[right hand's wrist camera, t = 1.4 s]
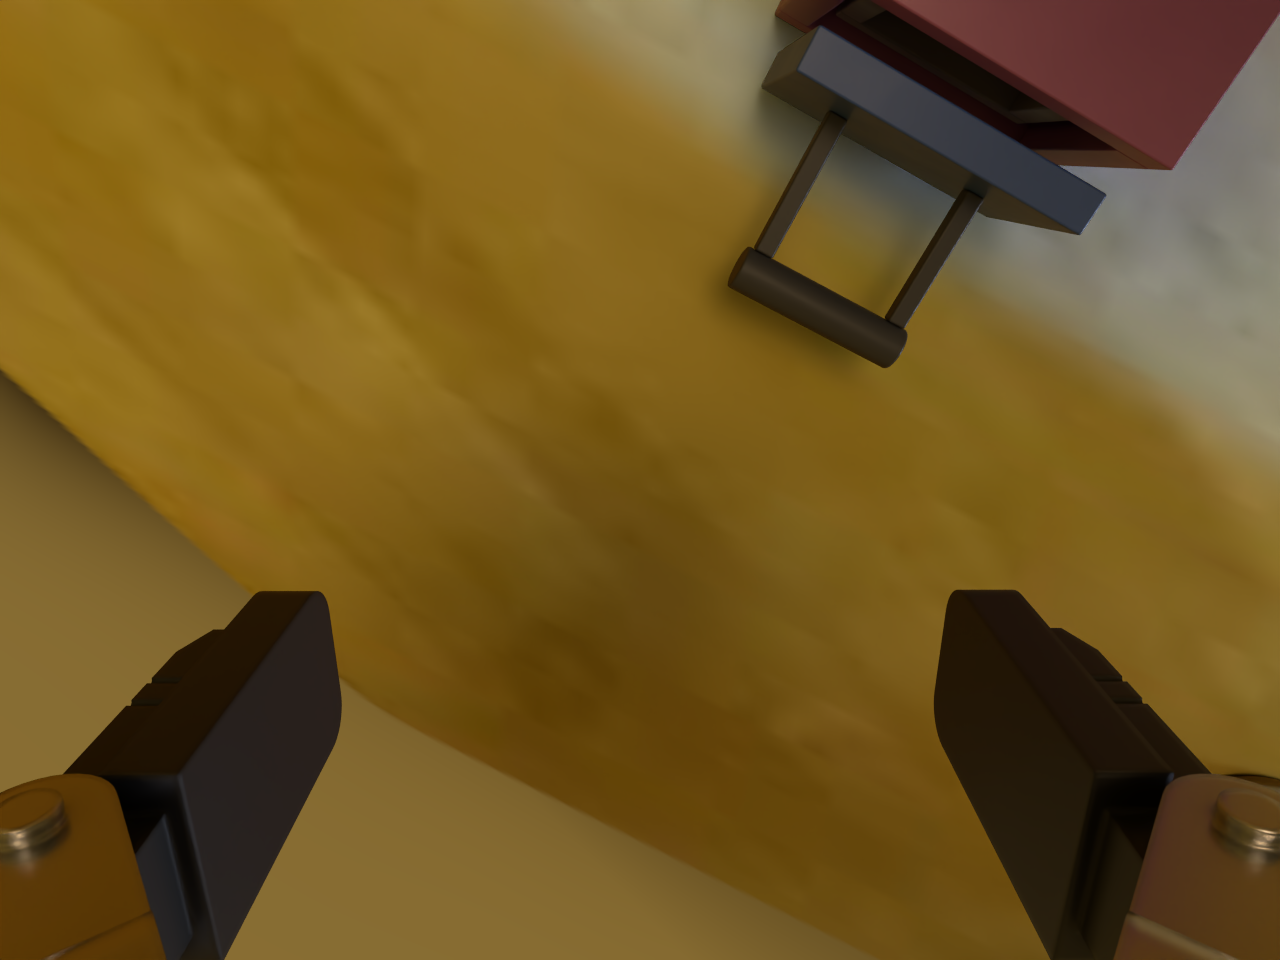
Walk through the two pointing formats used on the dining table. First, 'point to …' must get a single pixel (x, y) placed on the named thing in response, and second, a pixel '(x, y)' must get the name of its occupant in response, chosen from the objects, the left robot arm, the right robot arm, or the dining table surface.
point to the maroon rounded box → (1081, 65)
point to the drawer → (903, 166)
